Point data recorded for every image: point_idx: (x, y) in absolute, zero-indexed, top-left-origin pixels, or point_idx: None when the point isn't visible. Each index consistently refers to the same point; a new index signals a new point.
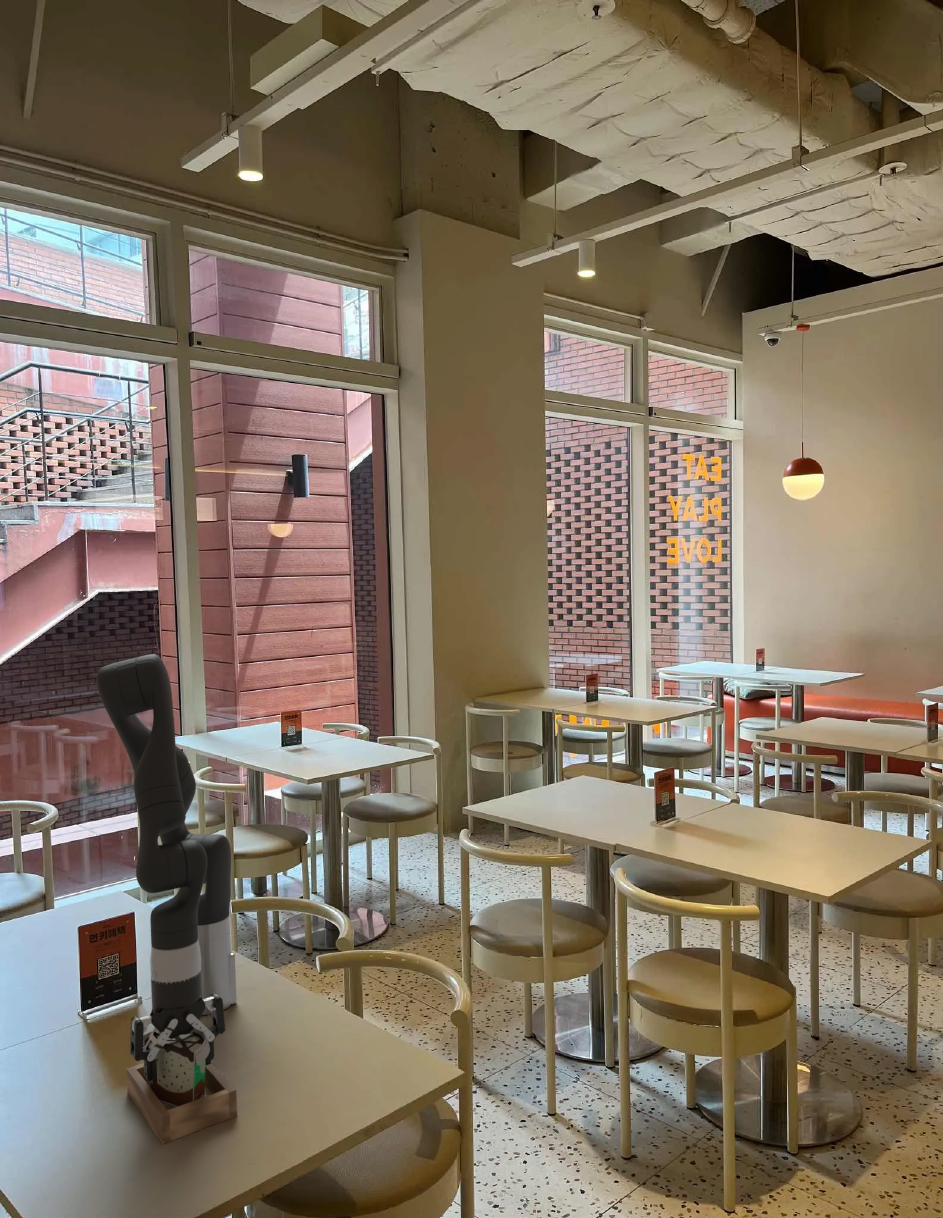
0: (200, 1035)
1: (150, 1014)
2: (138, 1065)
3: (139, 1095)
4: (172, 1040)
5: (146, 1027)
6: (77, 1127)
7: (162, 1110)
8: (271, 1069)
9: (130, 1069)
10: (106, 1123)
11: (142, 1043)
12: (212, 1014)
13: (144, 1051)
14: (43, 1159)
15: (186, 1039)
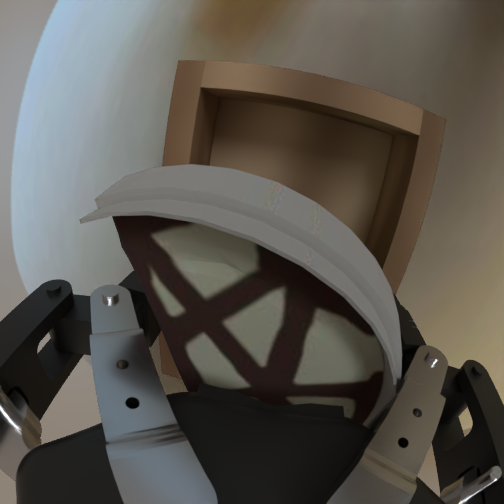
0: (368, 413)
1: (20, 490)
2: (219, 66)
3: None
4: (244, 363)
5: (34, 441)
6: (78, 152)
7: (170, 360)
8: (482, 279)
9: (184, 75)
10: (118, 180)
11: (53, 394)
12: (476, 434)
13: (84, 350)
14: (34, 213)
15: (304, 400)
